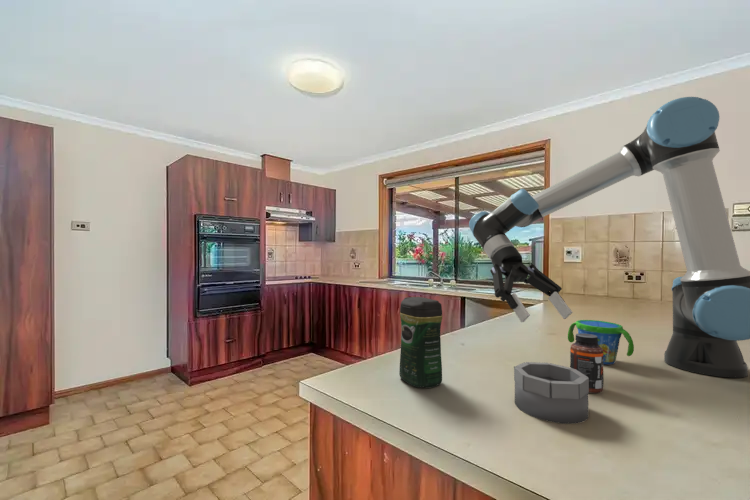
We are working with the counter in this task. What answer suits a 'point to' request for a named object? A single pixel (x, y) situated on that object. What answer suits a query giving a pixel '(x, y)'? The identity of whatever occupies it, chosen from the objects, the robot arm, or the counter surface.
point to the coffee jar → (421, 342)
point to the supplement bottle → (588, 360)
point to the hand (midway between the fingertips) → (547, 317)
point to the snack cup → (603, 337)
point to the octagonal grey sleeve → (551, 392)
